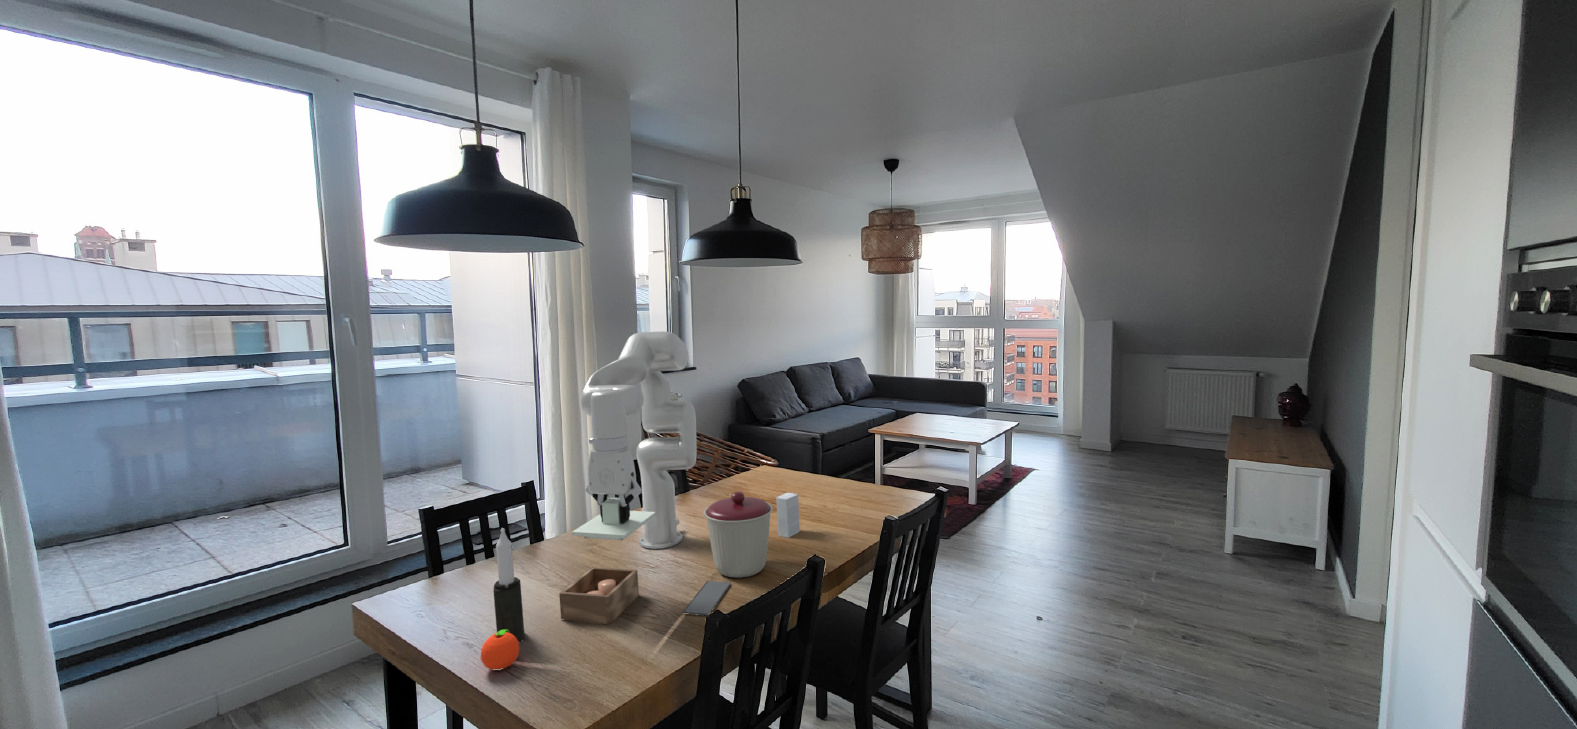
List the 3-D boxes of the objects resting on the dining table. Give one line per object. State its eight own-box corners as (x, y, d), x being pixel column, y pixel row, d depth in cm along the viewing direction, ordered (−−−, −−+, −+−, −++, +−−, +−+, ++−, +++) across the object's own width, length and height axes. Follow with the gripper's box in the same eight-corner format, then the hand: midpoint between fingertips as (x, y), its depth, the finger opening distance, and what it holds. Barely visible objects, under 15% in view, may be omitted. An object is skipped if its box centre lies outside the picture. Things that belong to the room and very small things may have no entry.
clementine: (493, 656, 125) (490, 622, 124) (528, 653, 125) (525, 620, 125) (475, 679, 117) (472, 644, 116) (512, 677, 117) (509, 641, 117)
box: (594, 594, 151) (592, 567, 150) (639, 597, 148) (637, 570, 147) (561, 623, 137) (559, 593, 136) (610, 627, 134) (608, 597, 134)
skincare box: (788, 529, 191) (787, 492, 189) (800, 532, 188) (798, 494, 187) (777, 535, 186) (775, 497, 185) (788, 538, 183) (787, 499, 182)
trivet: (671, 580, 157) (670, 578, 157) (730, 584, 153) (730, 582, 153) (643, 611, 141) (643, 608, 141) (708, 616, 138) (708, 613, 138)
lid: (607, 517, 151) (606, 489, 150) (656, 520, 148) (654, 491, 147) (572, 540, 136) (570, 510, 136) (625, 544, 133) (623, 512, 133)
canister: (788, 566, 163) (786, 489, 161) (742, 591, 149) (738, 507, 148) (740, 551, 175) (736, 479, 173) (692, 573, 161) (688, 495, 159)
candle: (497, 651, 126) (488, 534, 124) (498, 639, 131) (489, 526, 129) (524, 645, 128) (515, 530, 126) (524, 634, 133) (515, 522, 131)
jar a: (604, 596, 148) (603, 578, 147) (619, 597, 147) (618, 579, 147) (596, 604, 144) (594, 586, 144) (611, 605, 143) (610, 587, 143)
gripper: (568, 446, 139) (574, 524, 140) (635, 448, 134) (640, 528, 136) (587, 439, 146) (592, 513, 148) (651, 440, 142) (655, 517, 143)
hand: (615, 520), depth 142 cm, fingers closed on lid, 4 cm apart
